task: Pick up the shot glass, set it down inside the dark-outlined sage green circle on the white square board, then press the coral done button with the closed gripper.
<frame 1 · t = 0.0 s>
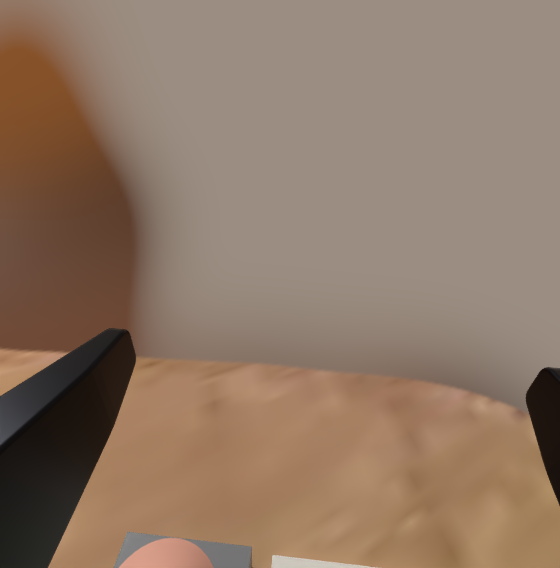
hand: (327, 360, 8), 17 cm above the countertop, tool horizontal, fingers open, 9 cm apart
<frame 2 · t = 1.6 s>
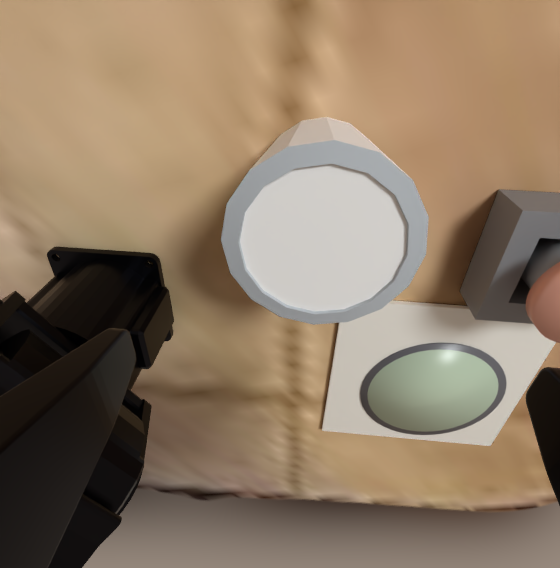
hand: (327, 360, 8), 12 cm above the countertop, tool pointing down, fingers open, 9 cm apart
white square board: (425, 379, 25), on the countertop
button housing: (536, 248, 19), on the countertop
shot glass: (320, 177, 18), on the countertop
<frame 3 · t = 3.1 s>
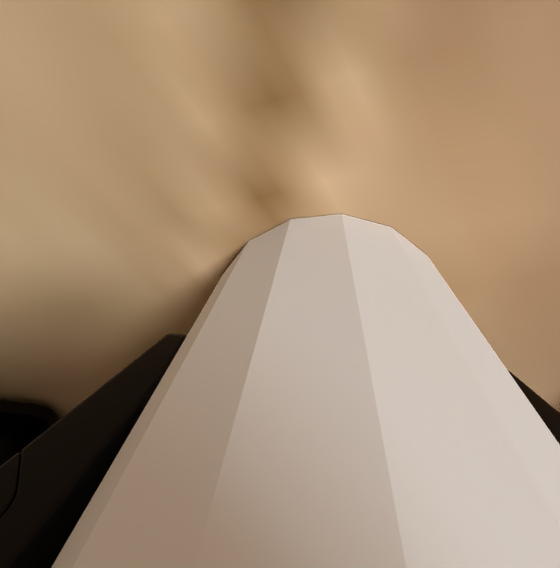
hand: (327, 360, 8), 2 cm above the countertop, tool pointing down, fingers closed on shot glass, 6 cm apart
shot glass: (326, 311, 9), on the countertop, touching gripper
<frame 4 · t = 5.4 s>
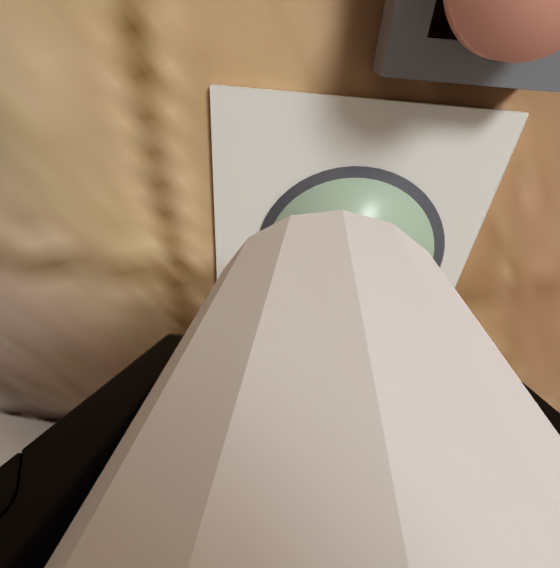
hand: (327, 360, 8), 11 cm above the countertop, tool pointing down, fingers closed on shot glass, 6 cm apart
white square board: (340, 237, 19), on the countertop
shot glass: (326, 308, 9), point 10 cm above the countertop, touching gripper
when the fingers open (3 cm above the countertop, at t = 7.7 s): shot glass stays where it is, resting on white square board.
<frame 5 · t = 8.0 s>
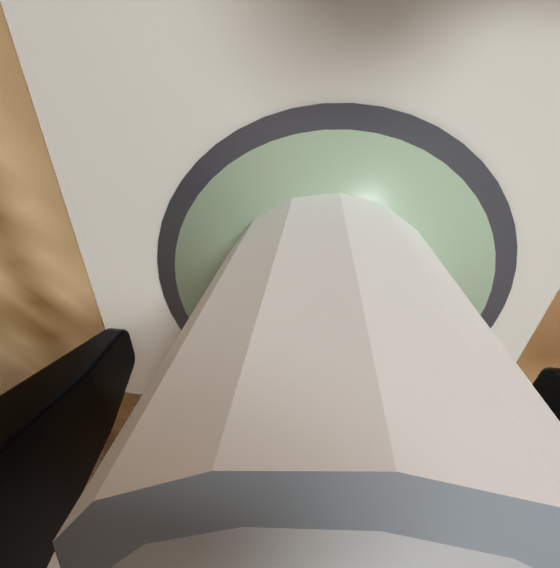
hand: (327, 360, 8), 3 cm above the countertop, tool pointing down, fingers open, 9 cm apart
white square board: (312, 253, 10), on the countertop
shot glass: (325, 285, 10), resting on white square board
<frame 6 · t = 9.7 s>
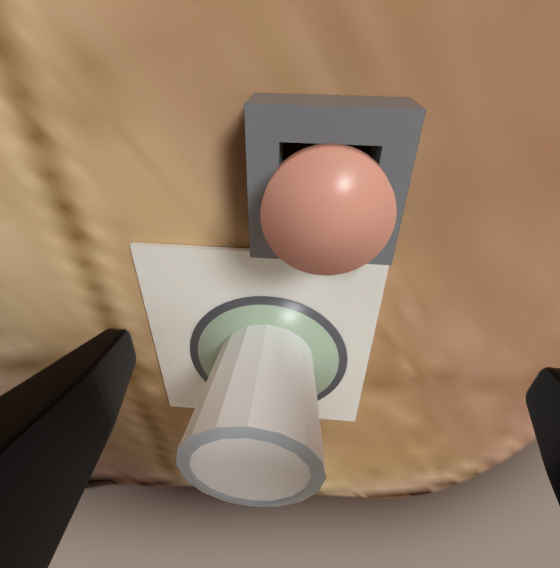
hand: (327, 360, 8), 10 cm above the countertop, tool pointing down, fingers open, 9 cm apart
white square board: (260, 343, 22), on the countertop
button housing: (324, 172, 16), on the countertop
done button: (326, 197, 14), point 3 cm above the countertop, slide at 0.0 cm
shot glass: (267, 356, 22), resting on white square board
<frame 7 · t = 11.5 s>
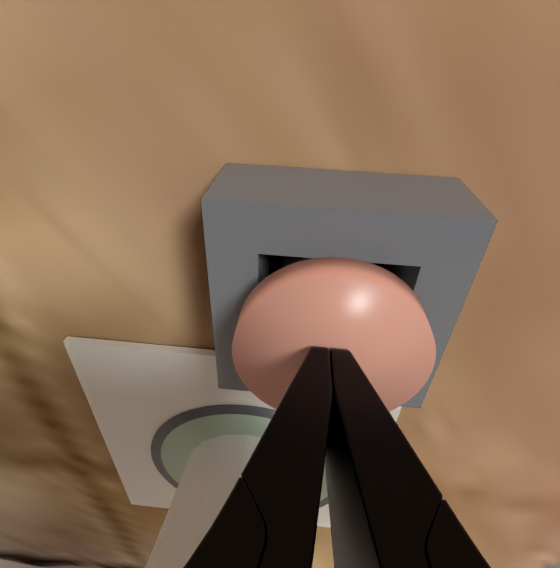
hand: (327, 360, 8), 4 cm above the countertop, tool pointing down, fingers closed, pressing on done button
white square board: (239, 448, 17), on the countertop
button housing: (327, 268, 11), on the countertop
done button: (328, 307, 10), point 2 cm above the countertop, slide at 1.0 cm, touching gripper
shot glass: (248, 464, 18), resting on white square board
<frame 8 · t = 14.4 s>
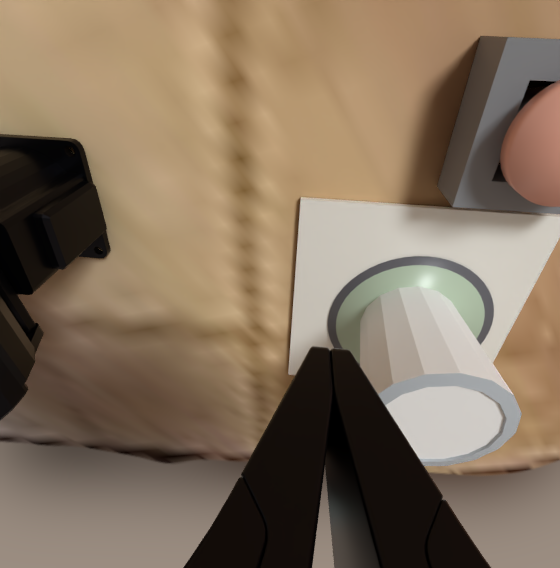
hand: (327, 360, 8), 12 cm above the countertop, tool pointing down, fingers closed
white square board: (401, 307, 22), on the countertop
button housing: (527, 123, 16), on the countertop
done button: (550, 133, 14), point 2 cm above the countertop, slide at 1.0 cm
shot glass: (406, 322, 22), resting on white square board
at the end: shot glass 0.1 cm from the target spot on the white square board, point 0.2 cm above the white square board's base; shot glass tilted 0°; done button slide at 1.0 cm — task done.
